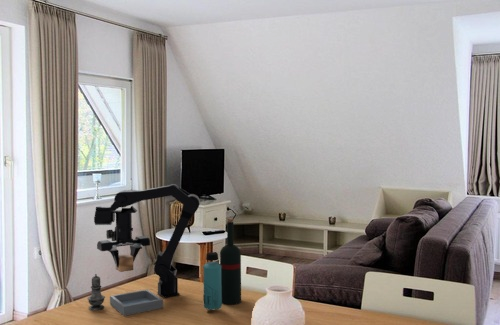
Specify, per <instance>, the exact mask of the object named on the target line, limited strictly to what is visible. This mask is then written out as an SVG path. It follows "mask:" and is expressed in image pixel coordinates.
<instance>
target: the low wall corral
mask: <svg viewBox="0 0 500 325" xmlns="http://www.w3.org/2000/svg"><path fill="white" fill-rule="evenodd" d="M163 301H164V300H163V298H161V297H159V295H158V294H155V293H153V292H152V291H150V290H149V289H143V290H141V289H140V290H135V291H129V292H125V293H120V294H114V295H109V304H110V306H111V307H112V308H114V309H115V310H116V311H117V312H119V313H120V314H121V315H122V316H124V317H125V316H129V315H135V314H139V313H145V312H149V311H154V310H160V309H163V308H164V302H163Z"/></svg>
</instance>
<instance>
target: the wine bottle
mask: <svg viewBox="0 0 500 325" xmlns="http://www.w3.org/2000/svg"><path fill="white" fill-rule="evenodd" d="M226 222H227V223H226V224H227V226H226V227H227V228H226V232H227V236H226V242H227V244H225V245H224V246H223V247H222V248H221V249H220V251H219V264H220V265H221V266H222V267H221V284H222V305H225V306H232V305H239V304H241V303H242V265H241V264H242V255H241V254H242V252H241V250H240V248H239V247H238V246H237V245H235V244H234V219H233V218H232V217H231V218H230V217H228V218H227V221H226Z"/></svg>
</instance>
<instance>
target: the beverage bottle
mask: <svg viewBox="0 0 500 325" xmlns="http://www.w3.org/2000/svg"><path fill="white" fill-rule="evenodd" d="M205 260H206V261H207V262H206V263H205V264H204V265H203V266H202V267H203V268H202V269H203V275H202V276H203V277H202V280H203V281H202V284H203V296H202V300H203V308H204V309H205V310H206V309H207V310H219V309H221V308H222V306H223V304H222V284H221V267H222V266H221V265H220V262H219V261H218V260H219V254H218V252H215V251H213V252H207V253H206V257H205Z"/></svg>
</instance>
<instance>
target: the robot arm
mask: <svg viewBox="0 0 500 325" xmlns="http://www.w3.org/2000/svg"><path fill="white" fill-rule="evenodd" d="M170 196H171V197H173V198H174V199H175V200H177V201H178V202H179V203H180V204H182V208H181V212H180V213H181V214H180V215H179V216H180V217H179V219H178V222H177V224H176V226H175V228H174V230H173V232H172V234H171V235H170V239H169V241H168V243H167V246H166V247H165V249H164V251H163V252H162V251H161V250H159V252H158V254H157V257H156V258H155V260H154V262H153V265H154V267H153V271H154V273H155V274H156V275H157V276H158V282H157V292H156V293H157V295H158V296H161V297H162V298H170V297H176V296H180V292H179V291H178V290H179V283H178V277H177V276H176V275H177V272H178V270H177V268H176V267H174V265H173V260H174V257H175V253H176V250H177V248H178V246H179V244H180V241H181V240H182V237H183V235H184V233H185V231H186V228H187V226H188V224H189V222H190V220H191V219H192V217H193V216H194V215H195V213H196V212H197V210H198V209H199V207H200V203H201V200H200V198H199V196H198V195H197V194H194V193H189V192H187V191H186V190H184V189H183V188H181V187H180V186H178V185H177V184H175V183H172V184H168V185H163V186H158V187H153V188H146V189H142V190H136V189H128V190H127V189H124V190H121V191H119V192H117V193H116V194H115V195H114V202H112V204H111V205H110V206H96V207H95V210H94V216H93V222H94V225H95V226H111V225H112V224H113V223H114V222H115V226H114V230H113V229H107V230H106V240H99V241H98V242H97V244H96V249H97V250H99V251H100V252H108V253H110V254H111V257H112V258H113V262H114V264H115V268H116V267H117V268H118V267H119V255H120V254H119V249H118V248H119V247H125V246H129V250H130V254H129V255H131V256H133V264H134V262H135V260H136V257H137V256H138V253H139V252H140V250H141V249H143V247H150V246H151V239H150V238H149V237H148V236H145V235H140V236H135V238H133V231H134V227H133V219H132V218H133V216H132V214H136V213H137V212H138V210H137V209H136V208H135V207H134V204H136V203H139V202H142V201H148V200H153V199H158V198H159V199H160V198H166V197H170ZM129 206H130V207H129ZM119 208H121V210H117V209H119ZM110 239H111V241H110ZM117 247H118V248H117Z"/></svg>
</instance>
